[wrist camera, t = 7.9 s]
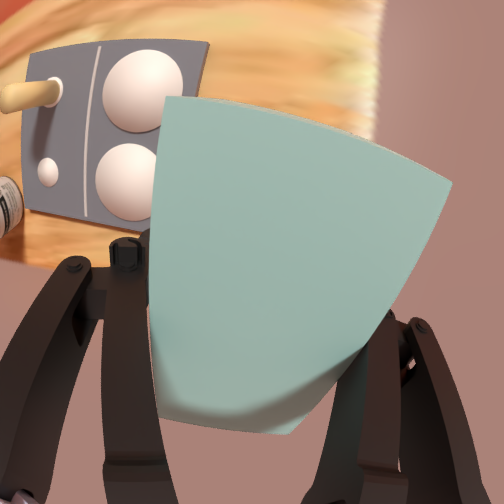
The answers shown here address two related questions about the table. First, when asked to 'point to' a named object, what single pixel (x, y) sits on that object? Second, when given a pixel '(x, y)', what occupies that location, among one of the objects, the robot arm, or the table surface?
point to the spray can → (9, 205)
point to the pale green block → (272, 258)
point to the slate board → (99, 124)
